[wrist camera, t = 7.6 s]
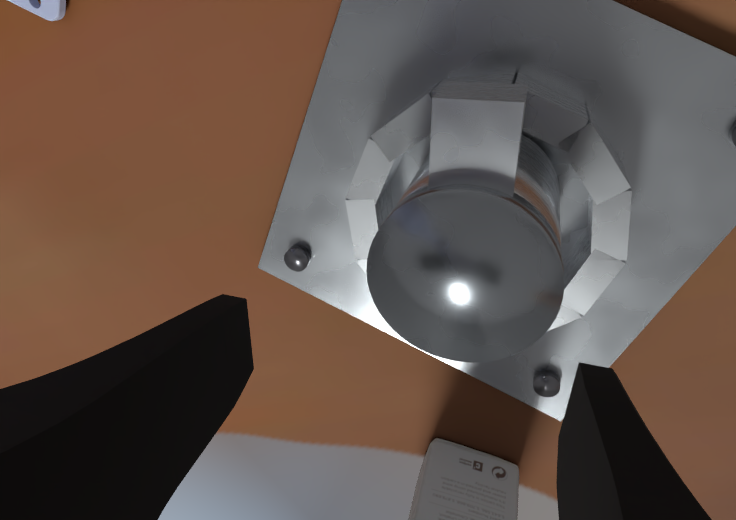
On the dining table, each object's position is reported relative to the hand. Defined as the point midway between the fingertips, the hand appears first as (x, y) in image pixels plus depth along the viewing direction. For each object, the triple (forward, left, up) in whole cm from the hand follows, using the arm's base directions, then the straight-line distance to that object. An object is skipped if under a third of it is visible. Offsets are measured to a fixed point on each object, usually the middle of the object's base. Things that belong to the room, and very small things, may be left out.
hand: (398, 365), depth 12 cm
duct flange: (+1, +1, -9) cm, 9 cm away
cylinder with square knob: (+1, +1, -9) cm, 9 cm away
